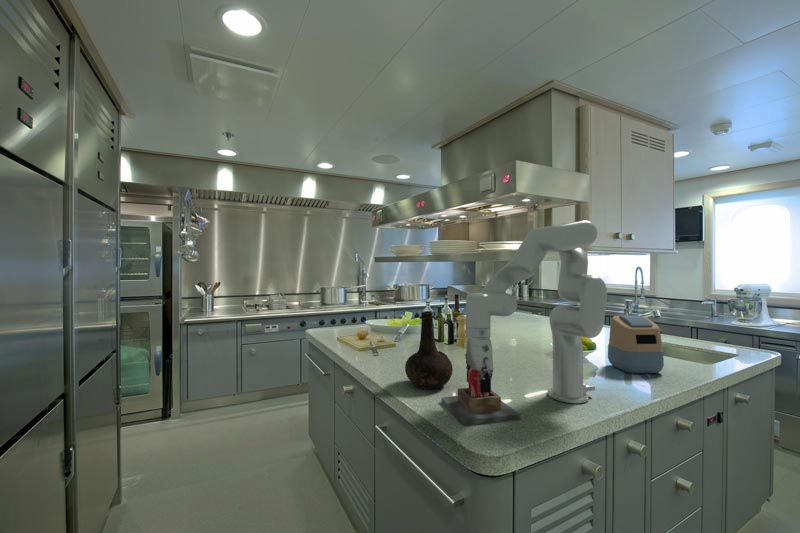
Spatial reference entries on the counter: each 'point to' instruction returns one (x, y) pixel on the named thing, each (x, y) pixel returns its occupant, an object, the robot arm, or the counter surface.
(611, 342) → the tan and blue appliance
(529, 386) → the counter surface
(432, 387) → the dark brown vase
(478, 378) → the beverage can
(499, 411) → the can holder
